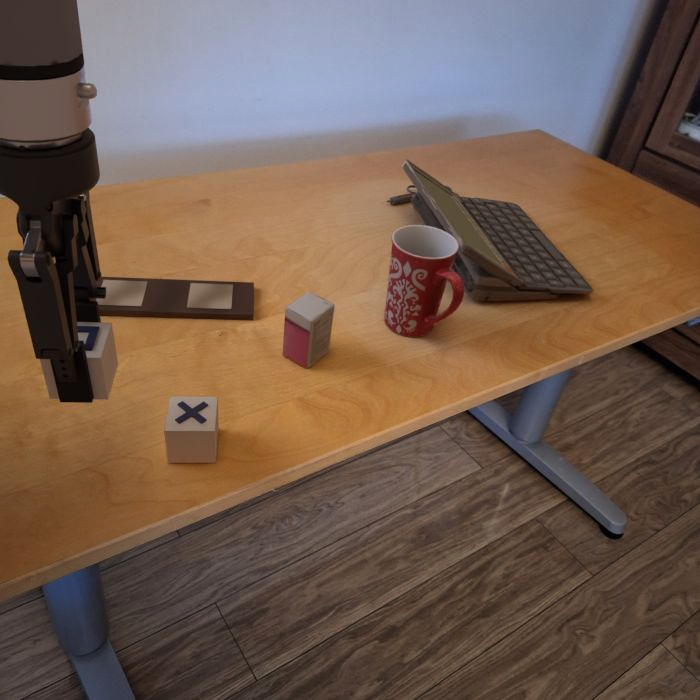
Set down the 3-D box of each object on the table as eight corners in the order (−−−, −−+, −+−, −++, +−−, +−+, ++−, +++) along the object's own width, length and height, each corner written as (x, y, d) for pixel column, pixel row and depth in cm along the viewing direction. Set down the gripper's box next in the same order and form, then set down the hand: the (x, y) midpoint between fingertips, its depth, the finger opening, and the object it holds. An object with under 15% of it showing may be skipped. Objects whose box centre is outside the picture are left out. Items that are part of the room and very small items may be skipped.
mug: (365, 312, 90) (378, 230, 82) (414, 298, 95) (431, 219, 86) (415, 363, 83) (436, 279, 74) (466, 346, 87) (491, 264, 78)
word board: (70, 314, 82) (69, 308, 82) (84, 281, 88) (82, 275, 88) (253, 320, 86) (253, 313, 85) (253, 287, 92) (253, 281, 91)
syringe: (367, 198, 120) (368, 190, 119) (437, 184, 129) (438, 176, 128) (391, 216, 115) (392, 207, 114) (461, 200, 124) (463, 192, 123)
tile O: (49, 399, 55) (38, 354, 52) (63, 362, 59) (53, 318, 56) (108, 399, 56) (100, 355, 53) (118, 363, 60) (111, 320, 57)
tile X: (167, 463, 65) (163, 429, 62) (173, 428, 69) (169, 394, 66) (216, 463, 66) (214, 429, 63) (218, 428, 70) (217, 395, 67)
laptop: (446, 306, 94) (462, 246, 87) (392, 208, 118) (401, 155, 111) (593, 302, 100) (619, 245, 93) (514, 209, 124) (529, 159, 117)
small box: (304, 337, 84) (308, 289, 79) (330, 351, 83) (335, 303, 78) (280, 355, 81) (283, 306, 76) (307, 370, 79) (311, 321, 74)
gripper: (60, 189, 36) (107, 452, 51) (116, 92, 50) (141, 321, 65) (-80, 180, 35) (10, 452, 50) (17, 82, 49) (65, 318, 64)
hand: (84, 377), depth 57 cm, fingers closed on tile O, 5 cm apart
